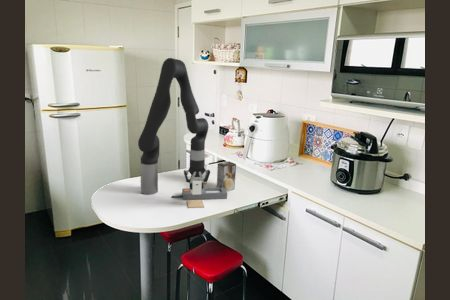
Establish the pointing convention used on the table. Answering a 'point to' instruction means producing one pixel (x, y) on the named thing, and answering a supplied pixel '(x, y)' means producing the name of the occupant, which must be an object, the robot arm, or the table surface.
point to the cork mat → (195, 204)
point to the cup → (207, 158)
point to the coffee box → (226, 175)
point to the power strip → (204, 194)
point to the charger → (196, 186)
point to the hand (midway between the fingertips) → (196, 189)
